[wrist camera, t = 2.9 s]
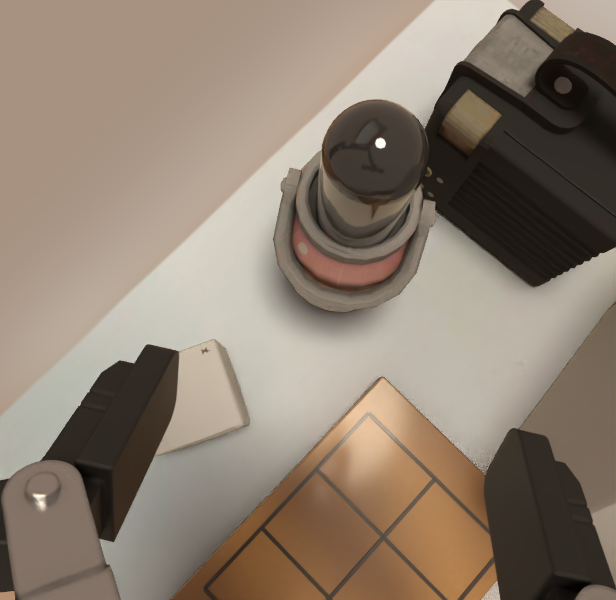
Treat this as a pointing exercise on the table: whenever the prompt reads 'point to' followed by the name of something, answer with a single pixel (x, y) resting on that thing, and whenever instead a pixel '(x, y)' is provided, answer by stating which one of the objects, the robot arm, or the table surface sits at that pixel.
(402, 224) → the beverage can
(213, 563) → the board
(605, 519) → the alarm clock
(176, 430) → the small box
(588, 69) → the camera
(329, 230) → the ball
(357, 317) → the table surface
